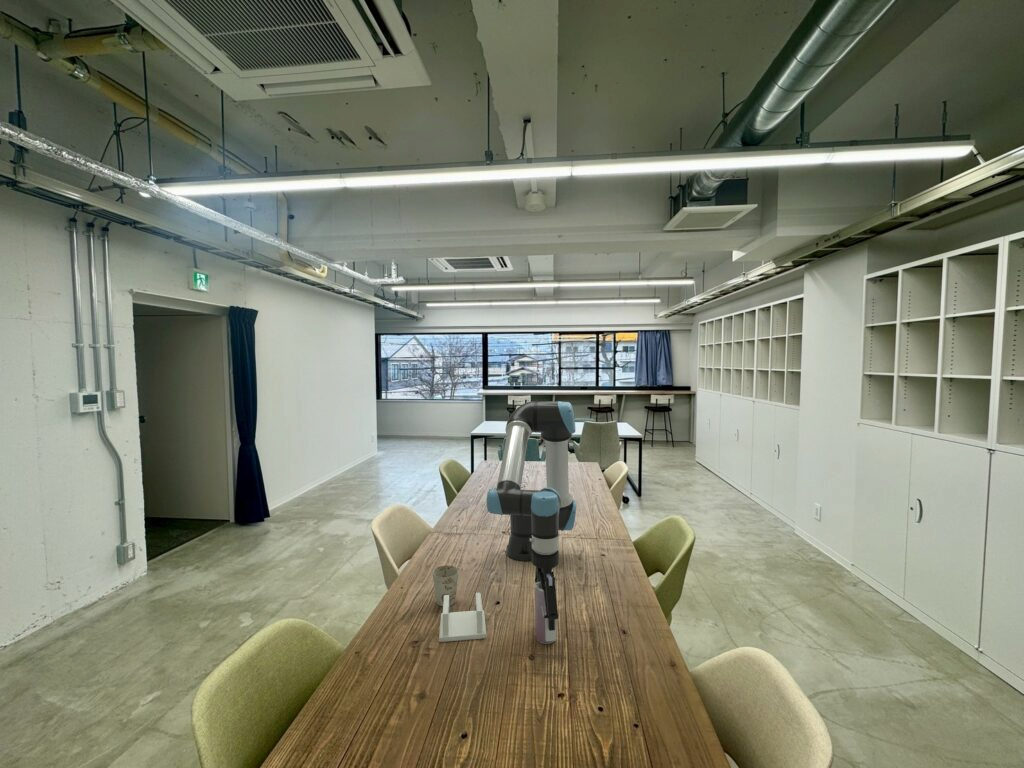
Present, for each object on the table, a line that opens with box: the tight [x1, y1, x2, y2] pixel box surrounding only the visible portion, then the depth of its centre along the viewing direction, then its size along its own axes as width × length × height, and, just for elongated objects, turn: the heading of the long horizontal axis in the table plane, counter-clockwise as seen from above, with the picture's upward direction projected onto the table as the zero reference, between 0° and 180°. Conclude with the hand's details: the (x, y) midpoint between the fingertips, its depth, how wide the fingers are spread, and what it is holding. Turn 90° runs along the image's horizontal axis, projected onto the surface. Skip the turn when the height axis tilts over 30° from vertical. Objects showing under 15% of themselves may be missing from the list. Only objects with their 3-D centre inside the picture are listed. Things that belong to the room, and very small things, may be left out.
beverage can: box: [534, 581, 558, 645], centre depth 118 cm, size 6×6×15 cm
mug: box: [432, 565, 459, 607], centre depth 139 cm, size 8×13×10 cm, turn 15°
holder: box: [438, 592, 487, 643], centre depth 123 cm, size 12×13×7 cm
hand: (545, 624), depth 118 cm, fingers open, 13 cm apart
